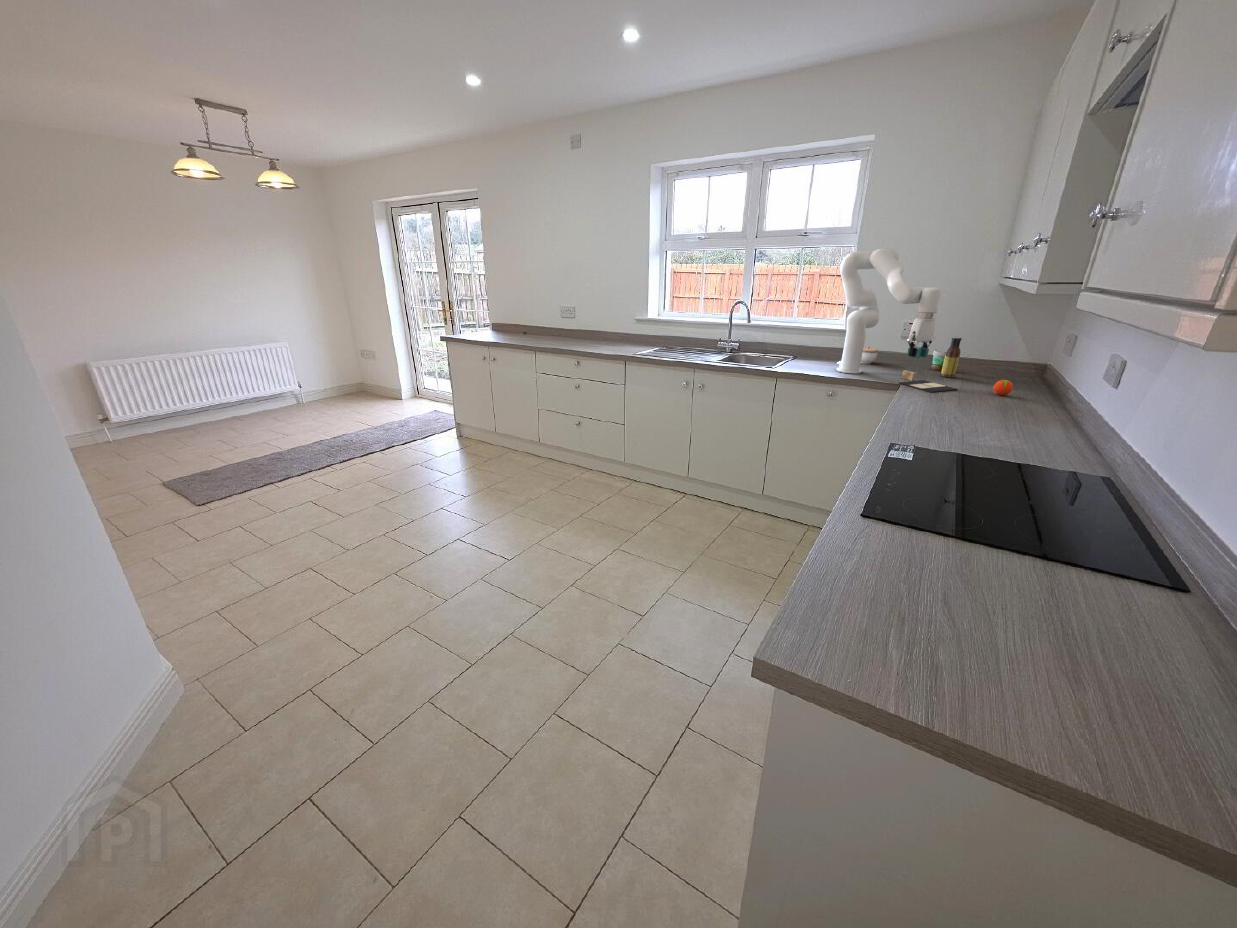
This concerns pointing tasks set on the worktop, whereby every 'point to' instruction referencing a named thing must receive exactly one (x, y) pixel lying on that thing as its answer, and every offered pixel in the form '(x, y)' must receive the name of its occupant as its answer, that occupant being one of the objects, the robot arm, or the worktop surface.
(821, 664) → the worktop surface
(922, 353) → the letter H
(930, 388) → the word mat
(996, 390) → the tomato
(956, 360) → the sauce bottle
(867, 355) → the trinket box
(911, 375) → the letter I
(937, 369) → the food container
